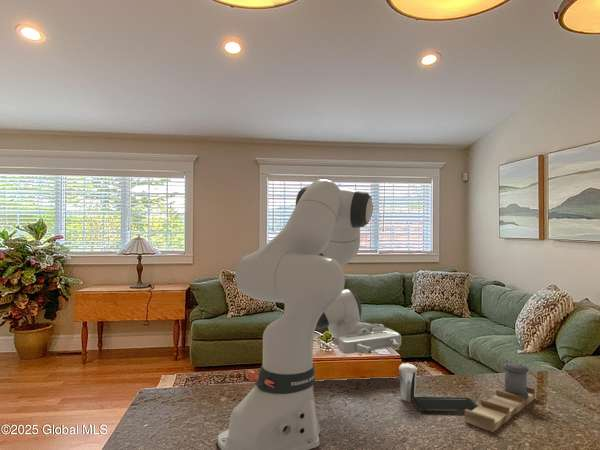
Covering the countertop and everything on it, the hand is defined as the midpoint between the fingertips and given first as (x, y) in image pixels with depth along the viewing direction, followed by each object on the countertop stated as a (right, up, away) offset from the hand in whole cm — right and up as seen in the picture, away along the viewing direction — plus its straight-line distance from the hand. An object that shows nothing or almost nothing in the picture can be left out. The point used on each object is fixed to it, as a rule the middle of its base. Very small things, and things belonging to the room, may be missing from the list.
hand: (383, 349), depth 118 cm
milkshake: (+4, -10, -12) cm, 16 cm away
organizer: (+26, -10, -17) cm, 32 cm away
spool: (+32, -8, -11) cm, 35 cm away
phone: (+12, -10, -16) cm, 22 cm away
